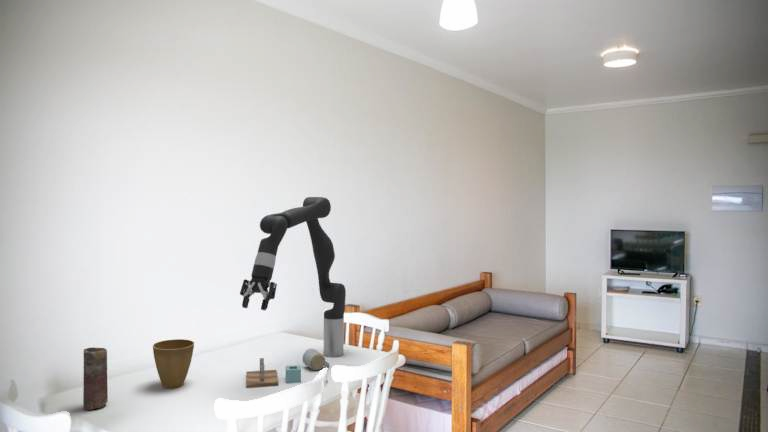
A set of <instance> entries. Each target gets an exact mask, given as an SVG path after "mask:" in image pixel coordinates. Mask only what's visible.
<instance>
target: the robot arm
mask: <svg viewBox="0 0 768 432" xmlns="http://www.w3.org/2000/svg"><path fill="white" fill-rule="evenodd" d="M331 210H332V206H331V202H330V200H329V199H328V198H326V197H323V196H307V197H305V198H304V199H303V202H302V206H300V207H299V206H298V207H294V208H293V207H292V208H290V209H287V210H284V211H283V212H277V213H272V214H268V215H267V214H266V215H265V216H263V218H261V220H260V222H259V229H260V231H262V233H264V234H267V235H269V236H267V237H266V238H265V237H264V238H262V239H261V240H260V241H259V245H258V249H257V254H256V256H255V259H254V262H253V266H252V271H251V279H250V280H248V279H244V280H243V282H242V284H241V289H240V291H239V295H240V296H242V297H243V299H242V303H241V306H242V308H244V309H248V308H249V303H250V298H251V296H253V295H254V294H259V293H260V294H261V295H262V298H263V299H262V303H261V306H260V310H262V311H266V310H267V309H268V306H269V301H270V300H274V299H275V297H276V292H277V283H276V282H273V281H272V278H273V274H274V269H275V266H276V260H277V259H276V258H277V254H278V249H279V246H280V244H281V242H282V240H283V238H284V236H285V235H286V233H287V230H288V229H291V228H294V227H296V226H298V225H301V224H304V223H306V225H307V228H308V233H309V236H310V240H311V241H310V242H311V245H312V246H311V247H312V252H313V257H314V263H315V266H316V272H317V278H318V291H319V295H320V296H319V297H320V298H321V301H323V302H324V303H330V304H333V305H332V307H331V308H329V309H327V310H324V312H323V356H324V357H328V358H329V357H330V358H331V357H332V358H338V357H341V356H344V340H345V339H344V337H345V336H344V333H345V331H344V330H345V328H344V326H345V325H344V323H345V321H344V320H345V318H344V315H345V312H346V295H347V294H346V293H347V291H346V287H345V285H344V284H343V283H338V282H331V280H330V270H331V268H332V266H333V264H334V261H335V258H336V256H335V255H336V253H335V249H334V245H333V242H332V239H331V237H329V236H328V234H327V233H326V232H325V230H324V229H323V228H322V226H321V224H320V221H319V219H323V218H326V217H328V216H329V215H330V214H331Z"/></svg>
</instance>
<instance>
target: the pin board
mask: <svg viewBox="0 0 768 432" xmlns="http://www.w3.org/2000/svg"><path fill="white" fill-rule="evenodd" d="M264 360H265V358H263V357H261V358H259V370H252V371H251V370H250V371H246V377H245V379H246V380H245V381H246V382H245V383H246V385H245V386H246V389H247V388H249V389H250V388H261V387H262V388H263V387H275V386H276V387H277V386H279V377H278V371H277V369H268V370H267V369H265V361H264Z"/></svg>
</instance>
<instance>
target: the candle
mask: <svg viewBox="0 0 768 432" xmlns="http://www.w3.org/2000/svg"><path fill="white" fill-rule="evenodd" d="M108 389H109V388H108V349H107V348H105V347H88V348H84V349H83V399H82V400H83V410H85V409H87V410H88V411H91V410H94V409H101V408H103V407H104V406H105V405H106V404H108V401H109V399H108V395H109V393H108V392H109V391H108Z"/></svg>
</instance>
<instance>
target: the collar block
mask: <svg viewBox="0 0 768 432" xmlns="http://www.w3.org/2000/svg"><path fill="white" fill-rule="evenodd" d="M301 382H302V368H301V365H299V364H295V365H285V383H286V384H291V383H293V384H294V383H301Z"/></svg>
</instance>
